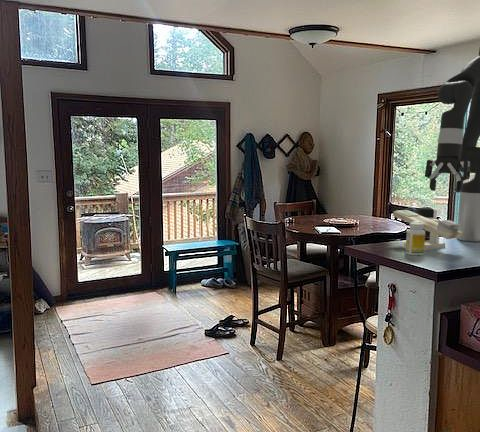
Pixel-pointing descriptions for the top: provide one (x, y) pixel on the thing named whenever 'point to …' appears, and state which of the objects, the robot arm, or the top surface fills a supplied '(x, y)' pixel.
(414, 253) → the supplement bottle
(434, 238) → the stand
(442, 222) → the beam
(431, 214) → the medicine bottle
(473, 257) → the top surface
